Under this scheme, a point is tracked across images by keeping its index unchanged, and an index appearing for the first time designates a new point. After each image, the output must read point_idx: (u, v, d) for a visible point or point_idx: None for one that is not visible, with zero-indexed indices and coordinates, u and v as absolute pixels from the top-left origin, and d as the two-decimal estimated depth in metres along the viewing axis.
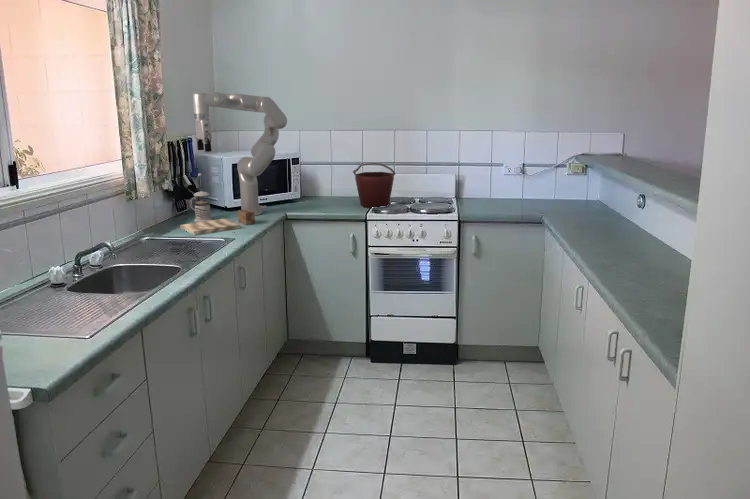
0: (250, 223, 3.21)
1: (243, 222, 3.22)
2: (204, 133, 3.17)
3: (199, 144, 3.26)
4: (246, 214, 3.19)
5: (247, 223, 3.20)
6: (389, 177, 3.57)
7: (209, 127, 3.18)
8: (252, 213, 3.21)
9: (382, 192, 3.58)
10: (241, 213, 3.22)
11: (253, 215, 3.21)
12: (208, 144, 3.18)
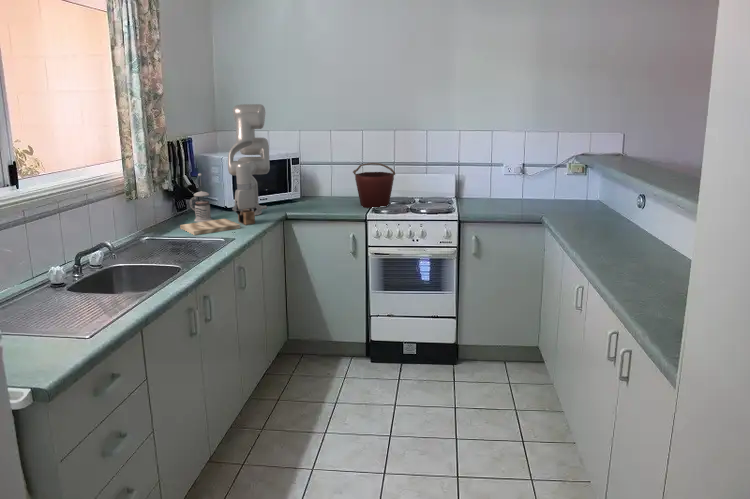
0: (250, 223, 3.21)
1: (243, 222, 3.22)
2: None
3: None
4: (246, 214, 3.19)
5: (247, 223, 3.20)
6: (389, 177, 3.57)
7: None
8: (252, 213, 3.21)
9: (382, 192, 3.58)
10: None
11: (253, 215, 3.21)
12: None
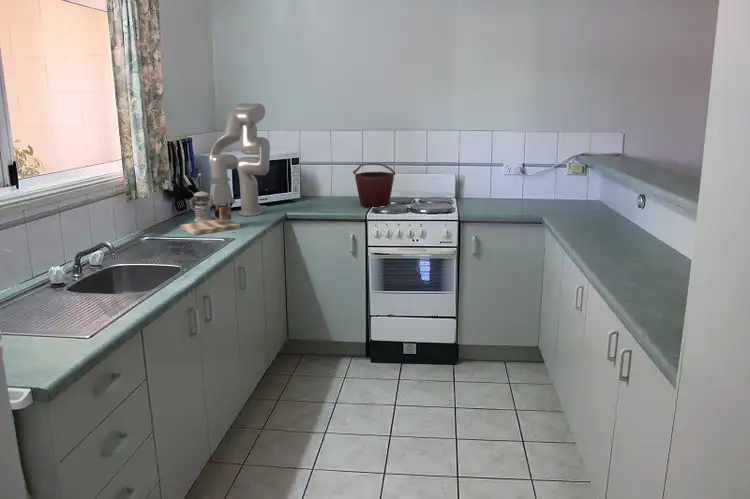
0: (226, 218, 3.12)
1: (219, 217, 3.13)
2: None
3: None
4: (222, 209, 3.10)
5: (223, 218, 3.11)
6: (389, 177, 3.57)
7: None
8: (228, 208, 3.12)
9: (382, 192, 3.58)
10: None
11: (229, 210, 3.12)
12: None
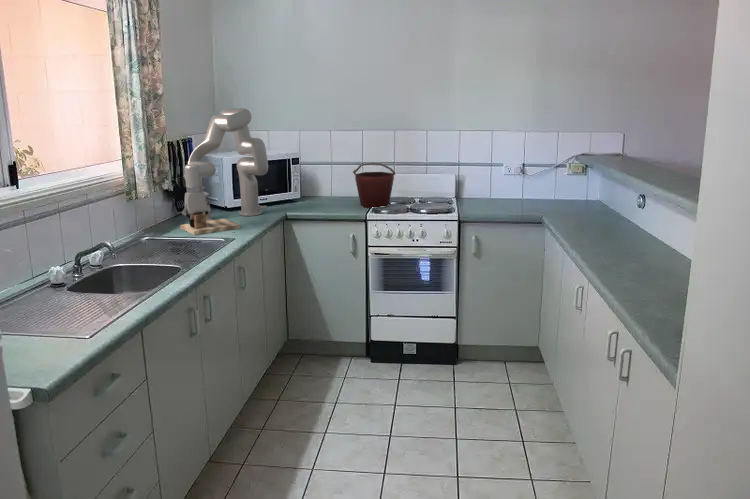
0: (201, 226, 3.05)
1: (194, 225, 3.06)
2: (206, 204, 3.08)
3: None
4: (196, 217, 3.03)
5: (198, 226, 3.04)
6: (389, 177, 3.57)
7: None
8: (203, 216, 3.05)
9: (382, 192, 3.58)
10: None
11: (204, 218, 3.05)
12: None
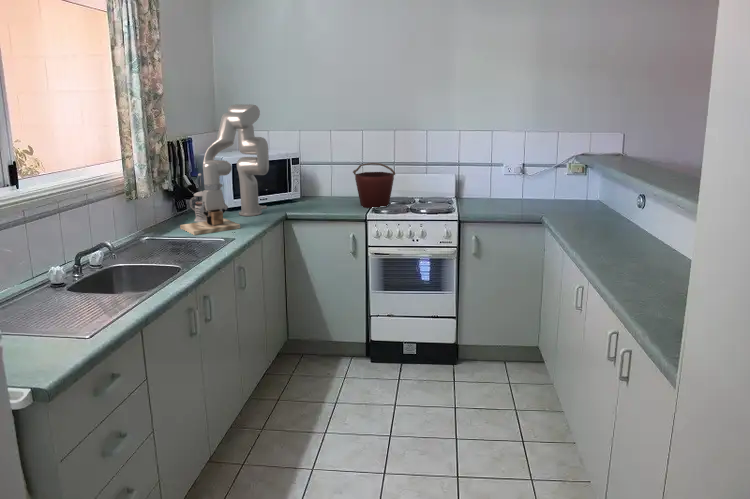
0: (218, 223, 3.10)
1: (211, 222, 3.11)
2: (223, 202, 3.13)
3: None
4: (214, 214, 3.08)
5: (215, 223, 3.09)
6: (389, 177, 3.57)
7: None
8: (220, 213, 3.10)
9: (382, 192, 3.58)
10: None
11: (221, 215, 3.11)
12: None
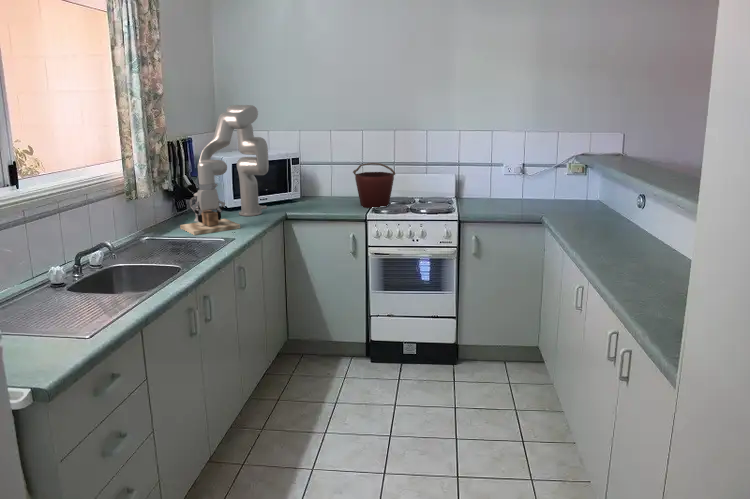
0: (213, 224, 3.09)
1: (206, 223, 3.10)
2: (218, 202, 3.12)
3: None
4: (209, 215, 3.07)
5: (210, 224, 3.08)
6: (389, 177, 3.57)
7: None
8: (215, 214, 3.09)
9: (382, 192, 3.58)
10: (204, 214, 3.10)
11: (216, 216, 3.09)
12: None
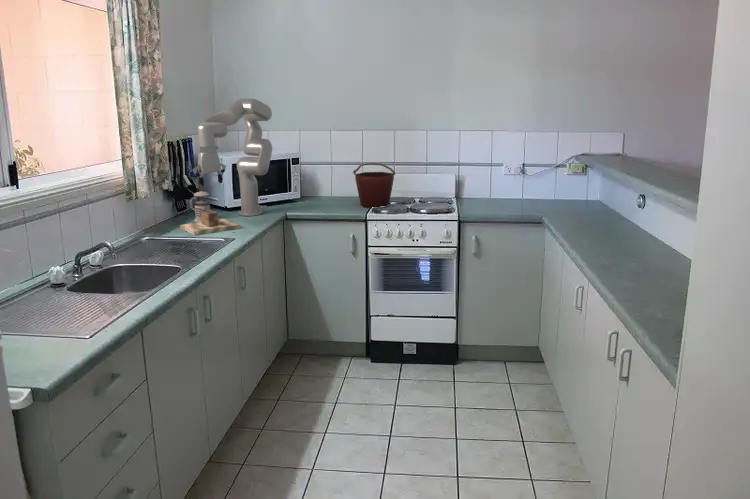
0: (213, 224, 3.09)
1: (206, 223, 3.10)
2: (219, 164, 3.11)
3: None
4: (209, 215, 3.07)
5: (210, 224, 3.08)
6: (389, 177, 3.57)
7: None
8: (215, 214, 3.09)
9: (382, 192, 3.58)
10: (204, 214, 3.10)
11: (216, 216, 3.09)
12: None
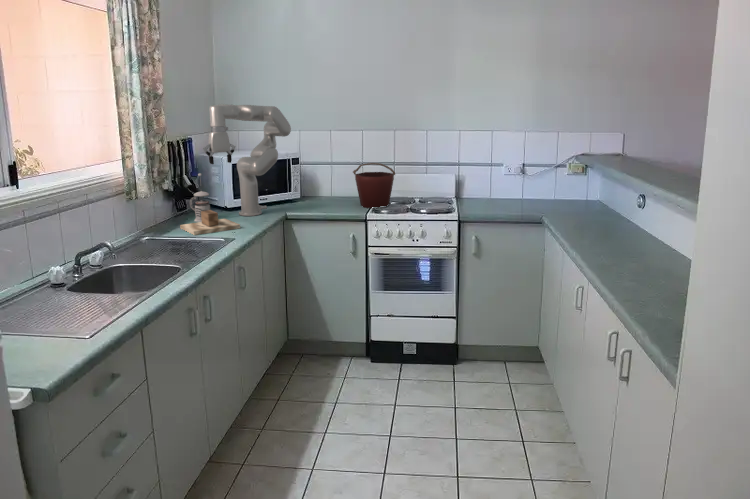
0: (213, 224, 3.09)
1: (206, 223, 3.10)
2: None
3: None
4: (209, 215, 3.07)
5: (210, 224, 3.08)
6: (389, 177, 3.57)
7: None
8: (215, 214, 3.09)
9: (382, 192, 3.58)
10: (204, 214, 3.10)
11: (216, 216, 3.09)
12: None
